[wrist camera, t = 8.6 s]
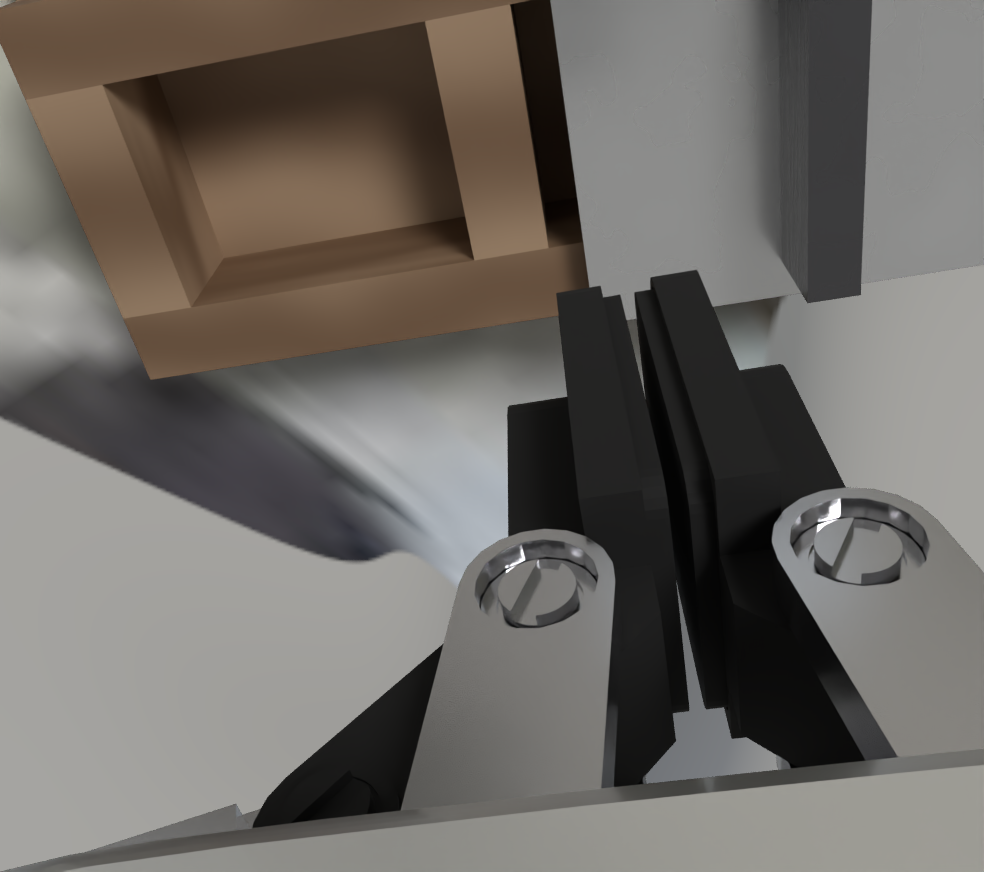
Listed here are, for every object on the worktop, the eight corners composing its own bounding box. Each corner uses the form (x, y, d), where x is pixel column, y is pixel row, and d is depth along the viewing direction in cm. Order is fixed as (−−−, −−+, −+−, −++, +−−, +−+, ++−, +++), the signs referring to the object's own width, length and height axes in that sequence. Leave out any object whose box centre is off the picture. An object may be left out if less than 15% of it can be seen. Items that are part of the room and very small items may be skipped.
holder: (13, -49, 25) (-75, -27, 21) (943, -252, 22) (1031, -267, 18) (177, 342, 31) (131, 413, 28) (910, 224, 28) (970, 285, 25)
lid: (535, -103, 20) (539, -92, 17) (1079, -217, 18) (1173, -224, 16) (593, 315, 25) (602, 371, 23) (1016, 248, 24) (1077, 300, 21)
